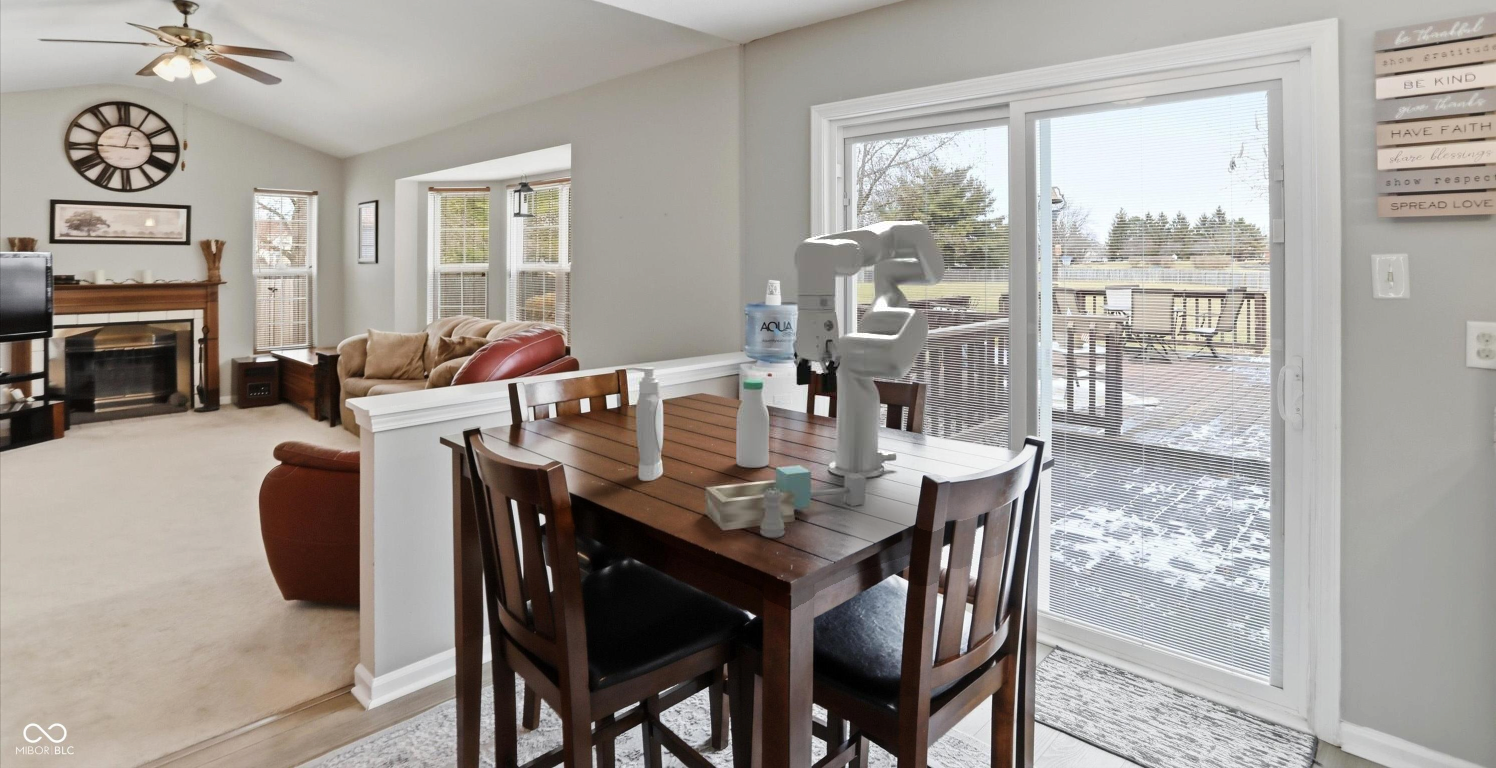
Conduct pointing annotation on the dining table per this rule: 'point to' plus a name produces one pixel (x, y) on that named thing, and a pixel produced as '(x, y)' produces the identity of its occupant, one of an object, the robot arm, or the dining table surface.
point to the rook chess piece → (772, 515)
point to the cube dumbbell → (800, 485)
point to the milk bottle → (752, 427)
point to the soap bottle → (649, 425)
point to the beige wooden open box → (744, 504)
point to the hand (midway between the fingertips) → (815, 388)
